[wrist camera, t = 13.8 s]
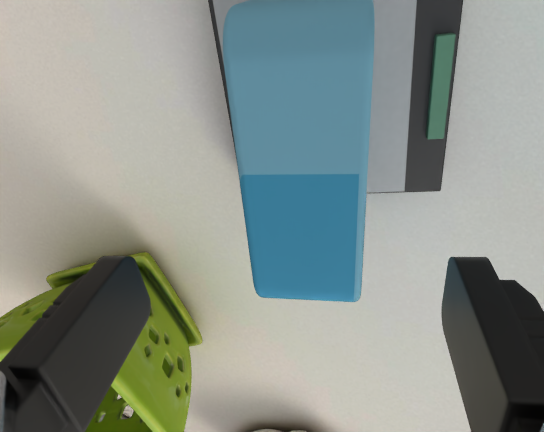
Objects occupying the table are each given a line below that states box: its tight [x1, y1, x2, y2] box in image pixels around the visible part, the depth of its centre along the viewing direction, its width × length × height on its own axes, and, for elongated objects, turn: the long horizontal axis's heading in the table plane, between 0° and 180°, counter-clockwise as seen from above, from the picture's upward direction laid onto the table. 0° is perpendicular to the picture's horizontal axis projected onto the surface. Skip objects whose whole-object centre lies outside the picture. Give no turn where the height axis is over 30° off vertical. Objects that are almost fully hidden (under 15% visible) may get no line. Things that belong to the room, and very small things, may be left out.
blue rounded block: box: [223, 0, 375, 302], centre depth 19 cm, size 12×4×12 cm, turn 5°
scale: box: [208, 0, 463, 193], centre depth 25 cm, size 14×14×3 cm
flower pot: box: [0, 252, 202, 432], centre depth 35 cm, size 14×14×13 cm
